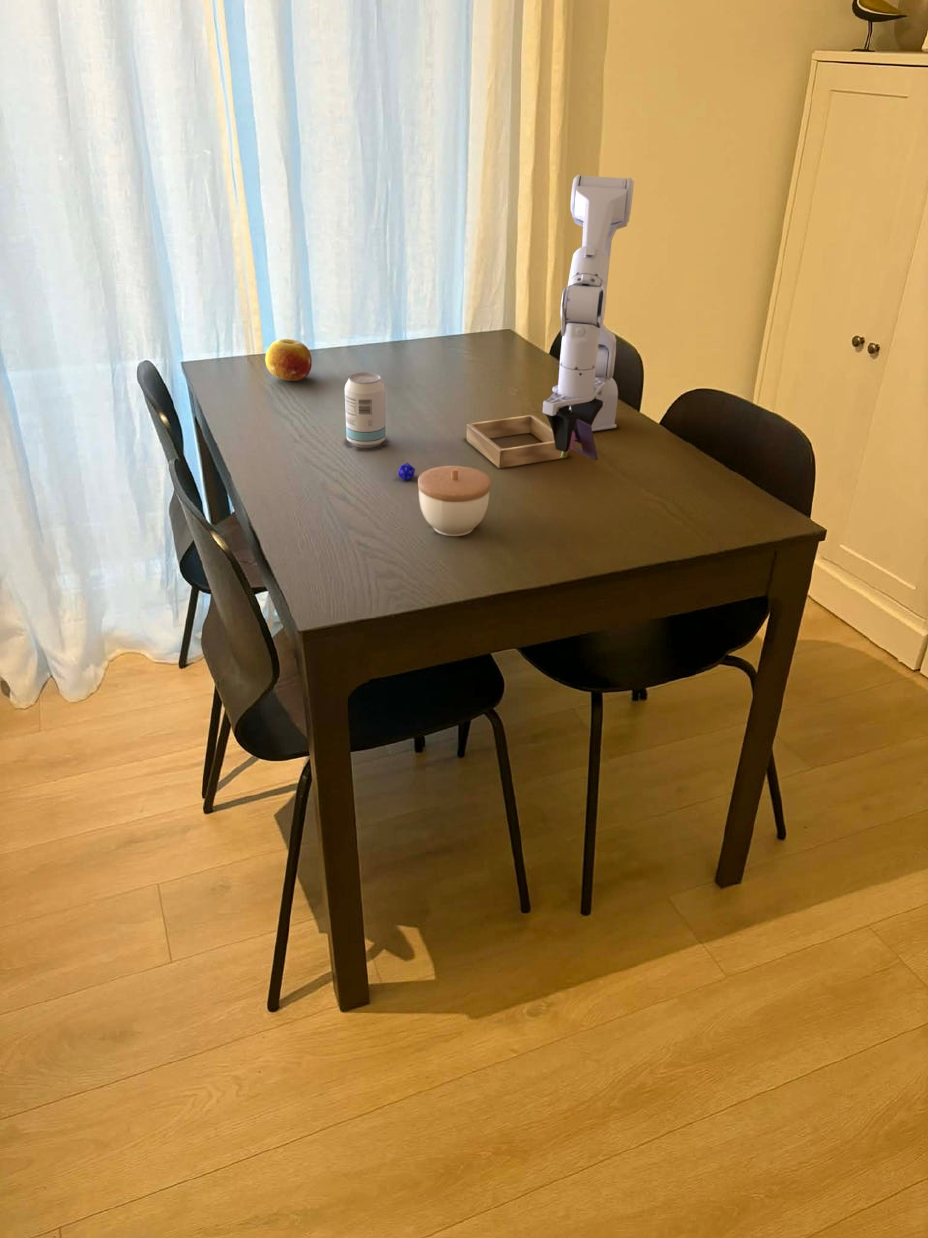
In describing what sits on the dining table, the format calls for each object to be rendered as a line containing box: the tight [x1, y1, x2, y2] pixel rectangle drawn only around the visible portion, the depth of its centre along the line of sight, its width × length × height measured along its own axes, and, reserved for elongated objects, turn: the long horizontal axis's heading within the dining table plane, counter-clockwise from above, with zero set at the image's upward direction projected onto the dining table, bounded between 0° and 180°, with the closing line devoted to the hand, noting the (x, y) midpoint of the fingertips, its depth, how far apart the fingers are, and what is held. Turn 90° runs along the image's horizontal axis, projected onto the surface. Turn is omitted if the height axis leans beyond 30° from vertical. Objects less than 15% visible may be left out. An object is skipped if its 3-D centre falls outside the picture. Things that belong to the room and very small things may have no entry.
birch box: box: [466, 414, 569, 469], centre depth 174 cm, size 13×13×3 cm
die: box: [397, 462, 416, 482], centre depth 162 cm, size 3×3×3 cm
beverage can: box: [344, 371, 386, 449], centre depth 172 cm, size 7×7×12 cm
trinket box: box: [417, 465, 492, 537], centre depth 146 cm, size 11×11×9 cm
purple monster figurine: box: [560, 419, 599, 461], centre depth 160 cm, size 7×5×9 cm
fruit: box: [264, 338, 313, 382], centre depth 201 cm, size 10×9×8 cm
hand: (570, 445), depth 161 cm, fingers closed on purple monster figurine, 4 cm apart
